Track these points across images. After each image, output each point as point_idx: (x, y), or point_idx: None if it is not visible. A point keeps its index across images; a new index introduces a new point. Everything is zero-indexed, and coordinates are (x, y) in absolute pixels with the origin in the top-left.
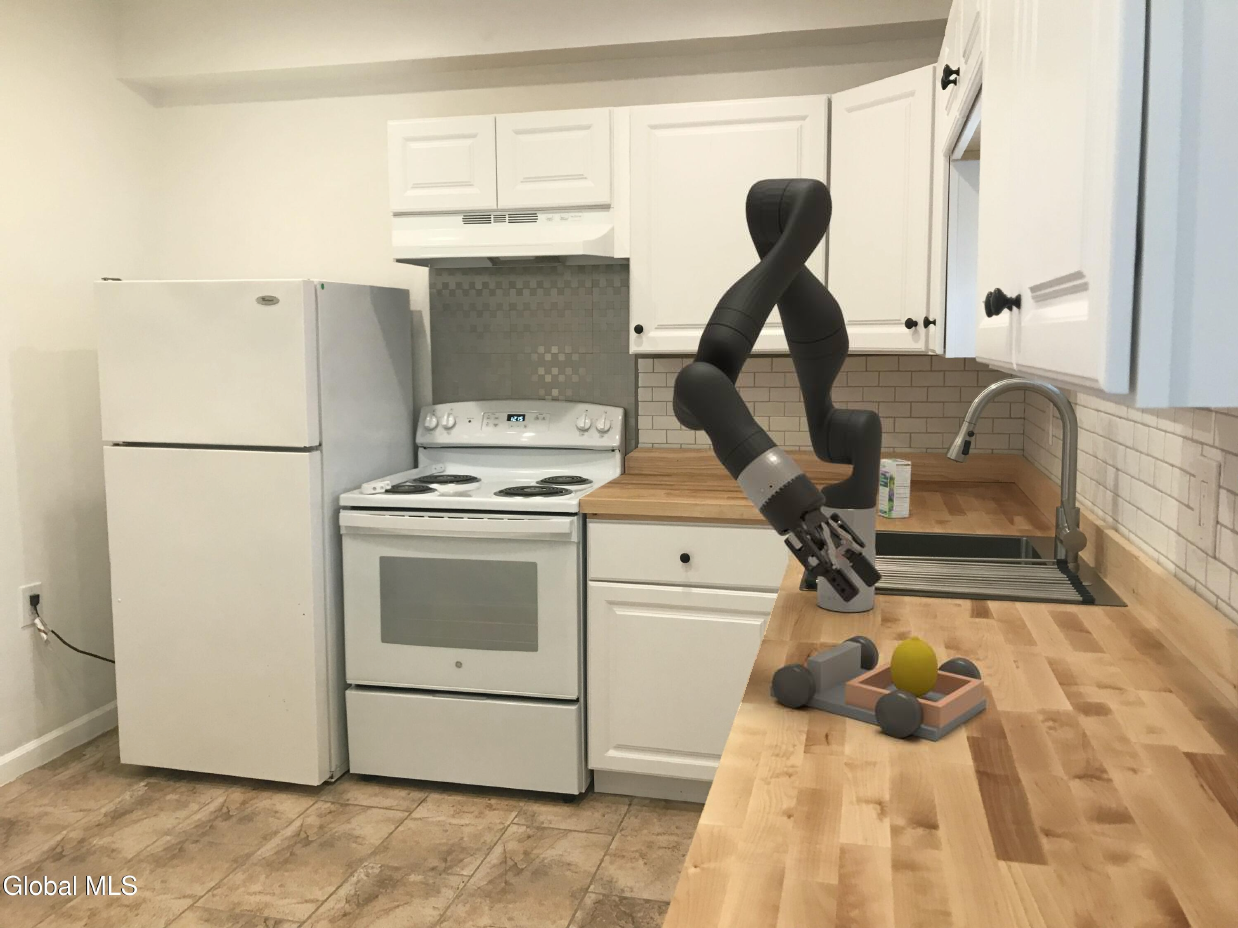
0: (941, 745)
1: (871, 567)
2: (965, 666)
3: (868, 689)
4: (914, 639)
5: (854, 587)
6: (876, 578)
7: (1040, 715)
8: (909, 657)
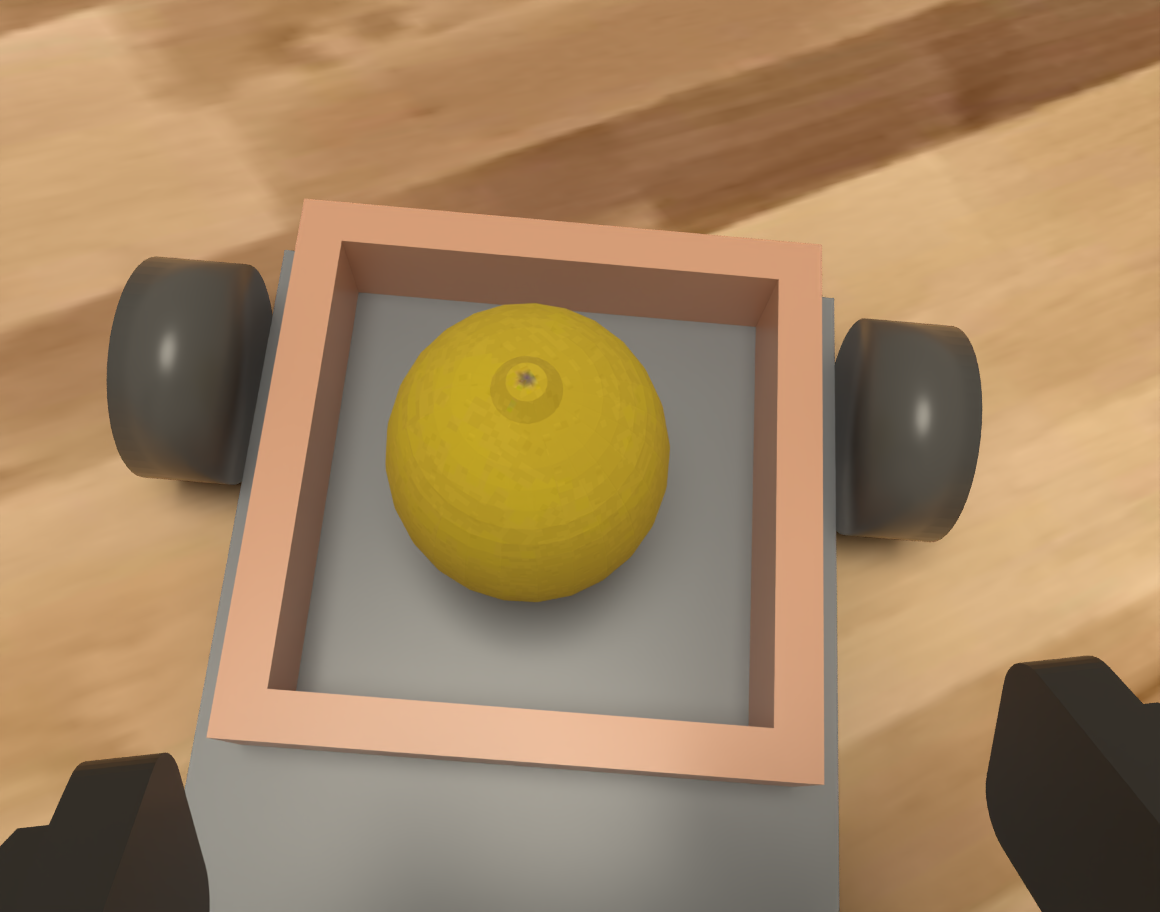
0: (842, 288)
1: (109, 907)
2: (226, 283)
3: (823, 629)
4: (553, 382)
5: (1130, 695)
6: (170, 808)
7: (255, 83)
8: (655, 410)
